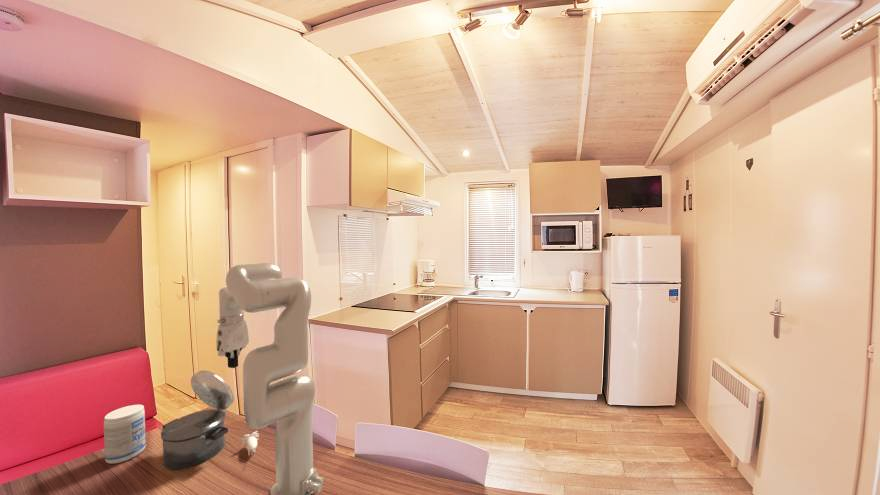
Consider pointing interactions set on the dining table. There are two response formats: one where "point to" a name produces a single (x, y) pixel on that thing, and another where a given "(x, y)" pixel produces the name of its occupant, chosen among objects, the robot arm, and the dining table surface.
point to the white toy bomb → (251, 441)
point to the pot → (193, 439)
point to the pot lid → (212, 390)
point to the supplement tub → (124, 433)
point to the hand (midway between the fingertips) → (233, 366)
